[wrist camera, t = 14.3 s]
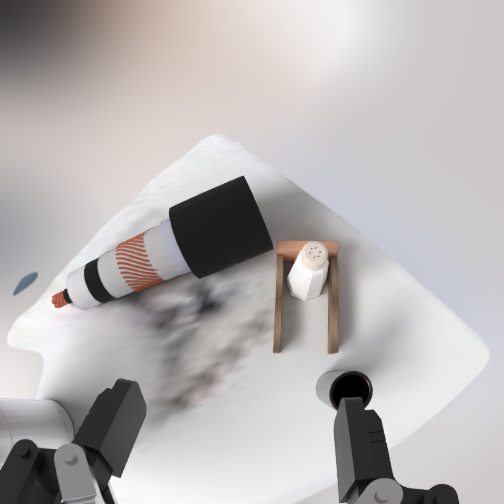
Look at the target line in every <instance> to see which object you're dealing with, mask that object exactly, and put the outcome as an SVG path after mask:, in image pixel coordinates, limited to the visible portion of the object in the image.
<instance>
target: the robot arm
mask: <svg viewBox="0 0 504 504" xmlns="http://www.w3.org/2000/svg"><path fill="white" fill-rule="evenodd" d="M145 416H146V403H145V401H144V398H143V395H142V393H141V390H140V387H139V385H138V383H137V382H135V381H130V380H125V379H118V380H117V381H116V383H115V385H114V386H113V388H112V389H109V388H107V389H106V390H104V391H103V392H102V393H101V394H100V395H98V397H97V399H96V401H95V402H94V404H93V407H92V408H91V409H90V411H89V414H88V415H87V416H86V418H85V420H84V422H83V424H82V425H81V427H80V429H79V431H78V433H77V434H76V436H75V438H74V429H73V424H72V421H71V419H70V417H69V415H68V413H67V412H66V410H65V409H64V408H63V407H62V406H61V405H60V404H59V403H57V402H55V401H53V400H49V399H4V398H0V466H1V465H3V466H2V468H1V470H0V504H118V503H117V500H116V497H115V495H114V492H113V490H112V487H111V484H110V482H109V480H110V478H111V475H113V476H116V477H119V478H121V475H122V473H123V470H124V468H125V465H126V463H127V460H128V458H129V455H130V453H131V450H132V448H133V445H134V443H135V441H136V438H137V436H138V433H139V431H140V428H141V426H142V424H143V421H144V419H145ZM334 441H335V453H336V465H337V478H338V493H339V503H344V502H347V504H459V500H458V495H457V493H456V491H455V489H454V488H453V487H451V486H449V485H446V484H439V485H436V486H434V487H432V488H430V489H429V490H423V489H412V488H407V487H404V486H402V485H401V484H399V483H398V482H397V481H396V480H395V478H394V476H393V473H392V468H391V462H390V457H389V453H388V448H387V443H386V439H385V434H384V430H383V425H382V421H381V419H380V417H379V416H378V415H377V413H376V412H375V411H374V410H365V409H364V404H363V400H362V398H361V397H355V398H342V399H341V402H340V405H339V408H338V412H337V415H336V418H335V422H334ZM62 499H63V503H61V501H62Z"/></svg>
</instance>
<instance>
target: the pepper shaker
mask: <svg viewBox="0 0 504 504" xmlns="http://www.w3.org/2000/svg"><path fill="white" fill-rule="evenodd" d="M327 258H328V250H327V248H326V247H325V245H323V244H322V243H320V242H318V241H311V242H308V243H307V244H305V245H304V246H303V248H302V250H301V251H300V252H299V255H298V257H297V259H296V261H295V263H294V265H293V267H292V269H291V271H290V273H289V275H288V277H287V279H286V283H287V286H288V288H289V291H290V294H291V295H292V296H294V297H297V298H299V299H301V300H303V301H307V300H310V299H313V298H316V297H318V296H320V293H321V291H322V289H323V287H324V284H325V281H326V276H327V270H328V264H329V262H328V259H327Z"/></svg>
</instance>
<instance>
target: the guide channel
mask: <svg viewBox="0 0 504 504" xmlns="http://www.w3.org/2000/svg"><path fill="white" fill-rule="evenodd" d="M308 242H311V241H296V240H278V245H277V277H276V303H275V326H274V347H273V353H280V339H281V316H282V287H283V262H295V261H296V259H297V257H298V255H299V252H300V251H301V250H302V248H303V246H304V245H305V244H307V243H308ZM318 242H320V243H322V244H323V245H325V247H326V248H327V250H328V258H327V259H328V262H329V264H328V354H334V353H338V267H337V255H338V242H328V241H318Z"/></svg>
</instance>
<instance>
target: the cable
mask: <svg viewBox="0 0 504 504" xmlns="http://www.w3.org/2000/svg"><path fill="white" fill-rule="evenodd" d="M169 218H170V219H167V220H165V221H163V222H161V224H160V225H158V226H156V227H153V228H151V229H149V230H147V231H145V232H143V233H142V234H139V235H138V236H135V237H133V238H131V239H129V240H127V241H125V242H123V243H120V244H119V245H118V247H116V248H115V249H113V250H111V251H108V252H106V253H104V254H102V255H100V256H99V258H97V259H95V260H93V261H91V262H89V263H87V264H86V265H84V266H82V267H81V268H79V269H77V270H75V271H73V272H71V273H70V274H69V275H68V277H67V279H66V287H67V289H65V290H64V291H62V292H60V293H58V294H56V295H54V296H52V299H53V300H52V303H53V304H55V303H56V304H55V305H54V306H55V308H61V307H63V306H64V305H67V303H69V304H70V303H72V302H73V303H74V304H75V305H76V306H77V307H78V308H79V309H81V310H88V309H90V308H92V307H95V306H97V305H99V304H102V303H106V302H108V301H110V300H113V299H115V298H120V297H122V296H124V295H127V294H129V293H131V292H134V291H136V292H137V291H138V292H139V291H142V290H144V289H146V288H148V287H151V286H153V285H156V284H158V283H160V282H163V281H165V280H169V279H171V278H174V277H176V276H178V275H181V274H182V275H183V274H186V273H188V272H191V271H192V272H193V274H194V275H195V276H197V277H198V278H199V279H200V278H202V277H205V276H207V275H210V274H212V273H215V272H217V271H220V270H222V269H225V268H227V267H230V266H232V265H235V264H237V263H240V262H242V261H245V260H247V259H250V258H252V257H254V256H257V255H259V254H262V253H264V252H267V251H269V250H272V249H273V245H272V242H271V239H270V236H269V233H268V231H267V228H266V226H265V223H264V221H263V218H262V216H261V213H260V211H259V208H258V206H257V204H256V201H255V199H254V197H253V194H252V192H251V190H250V188H249V186H248V183H247V181H246V179H245V177H244V176H241V177H238V178H236V179H234V180H231V181H229V182H227V183H224V184H222V185H220V186H217V187H215V188H213V189H210V190H208V191H206V192H204V193H201V194H199V195H197V196H195V197H192V198H190V199H188V200H186V201H184V202H181V203H179V204H177V205H175V206H173V207H171V208H170V209H169Z"/></svg>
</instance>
